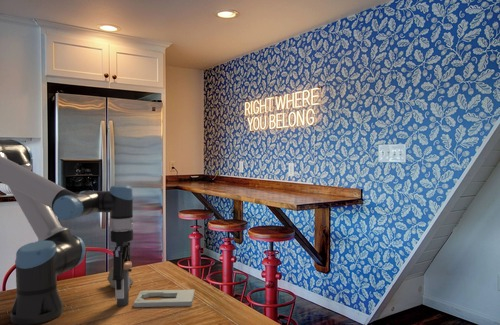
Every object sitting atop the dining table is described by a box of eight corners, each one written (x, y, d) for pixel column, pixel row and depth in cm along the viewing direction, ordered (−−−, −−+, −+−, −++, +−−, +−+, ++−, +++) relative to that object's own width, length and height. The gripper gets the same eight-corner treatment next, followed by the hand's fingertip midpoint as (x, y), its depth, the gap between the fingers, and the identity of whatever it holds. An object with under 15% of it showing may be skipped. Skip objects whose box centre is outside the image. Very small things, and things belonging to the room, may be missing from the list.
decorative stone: (117, 294, 149) (117, 273, 148) (105, 284, 160) (105, 264, 160) (138, 289, 154) (138, 269, 153) (125, 280, 165) (125, 260, 165)
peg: (110, 307, 135) (110, 266, 135) (116, 300, 142) (115, 260, 141) (129, 307, 136) (129, 265, 135) (134, 300, 142) (133, 260, 142)
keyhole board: (133, 307, 136) (133, 302, 136) (141, 294, 148) (141, 290, 148) (191, 305, 137) (191, 301, 137) (194, 293, 149) (194, 289, 149)
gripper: (125, 235, 128) (126, 304, 129) (139, 224, 148) (139, 284, 149) (102, 235, 128) (102, 305, 129) (118, 224, 148) (119, 285, 148)
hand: (122, 294), depth 139 cm, fingers open, 7 cm apart
